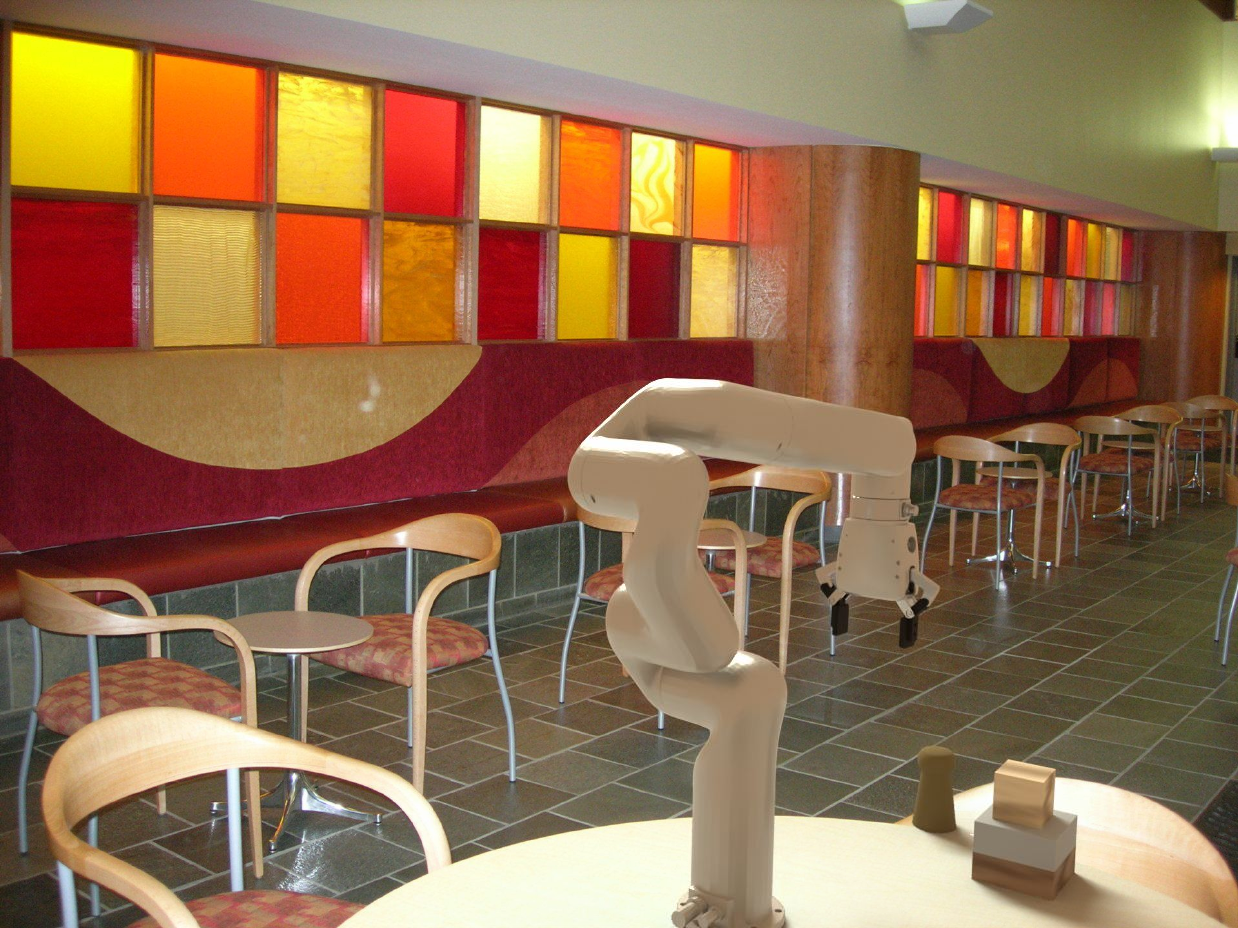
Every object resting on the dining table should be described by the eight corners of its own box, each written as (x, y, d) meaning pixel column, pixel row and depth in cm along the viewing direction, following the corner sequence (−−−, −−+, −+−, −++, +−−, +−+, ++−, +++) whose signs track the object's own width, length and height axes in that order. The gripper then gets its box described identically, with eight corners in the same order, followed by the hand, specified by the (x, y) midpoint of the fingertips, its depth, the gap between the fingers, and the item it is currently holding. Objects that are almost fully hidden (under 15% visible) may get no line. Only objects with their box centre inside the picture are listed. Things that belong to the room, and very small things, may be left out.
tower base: (1052, 903, 145) (1053, 872, 145) (971, 881, 151) (972, 851, 151) (1074, 875, 153) (1076, 845, 153) (996, 855, 159) (998, 826, 159)
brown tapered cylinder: (957, 834, 165) (961, 757, 164) (912, 830, 166) (915, 753, 165) (954, 817, 171) (957, 743, 170) (911, 814, 172) (914, 739, 171)
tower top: (1054, 871, 145) (1055, 840, 144) (973, 851, 151) (974, 820, 150) (1075, 845, 153) (1077, 814, 153) (998, 826, 159) (999, 797, 158)
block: (1040, 829, 148) (1043, 782, 147) (992, 818, 151) (994, 772, 150) (1053, 814, 153) (1055, 768, 152) (1005, 803, 156) (1008, 759, 155)
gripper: (954, 515, 152) (947, 647, 154) (834, 502, 163) (828, 625, 165) (928, 519, 147) (921, 656, 148) (806, 506, 157) (800, 633, 159)
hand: (872, 640), depth 156 cm, fingers open, 9 cm apart
